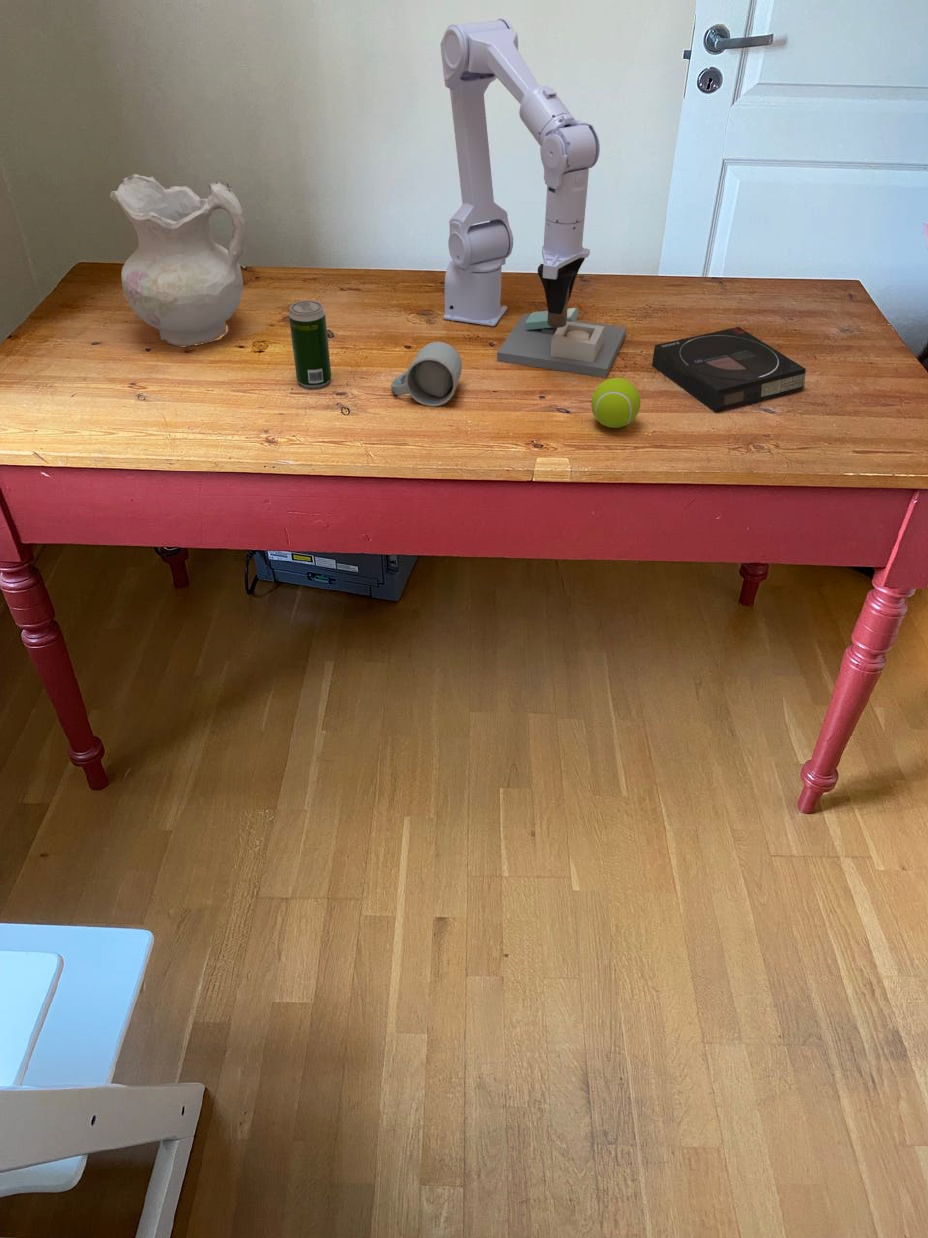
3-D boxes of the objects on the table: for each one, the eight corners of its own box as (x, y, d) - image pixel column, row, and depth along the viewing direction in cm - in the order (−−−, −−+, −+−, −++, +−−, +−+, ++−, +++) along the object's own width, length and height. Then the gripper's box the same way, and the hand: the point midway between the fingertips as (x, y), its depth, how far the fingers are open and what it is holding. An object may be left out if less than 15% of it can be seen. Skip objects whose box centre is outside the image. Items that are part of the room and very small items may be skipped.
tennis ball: (633, 439, 134) (640, 395, 129) (585, 432, 135) (589, 388, 130) (640, 416, 139) (646, 372, 134) (593, 409, 140) (598, 366, 136)
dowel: (545, 326, 146) (548, 281, 141) (549, 318, 148) (552, 274, 143) (564, 328, 145) (567, 283, 141) (568, 320, 147) (571, 276, 143)
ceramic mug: (464, 383, 146) (463, 336, 141) (455, 408, 140) (455, 360, 135) (397, 379, 148) (394, 332, 142) (386, 404, 141) (383, 356, 136)
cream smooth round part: (563, 346, 150) (564, 337, 149) (569, 337, 153) (569, 328, 152) (585, 350, 149) (586, 341, 148) (590, 340, 152) (591, 331, 151)
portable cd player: (715, 416, 140) (720, 391, 137) (651, 368, 151) (654, 344, 149) (802, 394, 145) (808, 370, 142) (733, 349, 157) (738, 326, 154)
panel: (496, 360, 152) (497, 334, 149) (523, 321, 163) (524, 296, 160) (605, 377, 148) (609, 350, 145) (625, 335, 159) (628, 310, 156)
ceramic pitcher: (272, 315, 167) (252, 163, 152) (255, 356, 152) (232, 192, 137) (150, 317, 167) (118, 164, 152) (121, 358, 151) (83, 193, 136)
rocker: (526, 329, 157) (524, 322, 156) (533, 319, 160) (531, 311, 159) (572, 325, 154) (570, 317, 153) (578, 314, 157) (577, 306, 156)
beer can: (336, 385, 145) (329, 310, 138) (303, 392, 144) (294, 317, 136) (325, 370, 149) (317, 297, 141) (292, 377, 147) (283, 303, 139)
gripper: (580, 237, 130) (572, 330, 139) (602, 204, 140) (594, 293, 149) (531, 231, 131) (526, 323, 140) (557, 199, 142) (551, 287, 151)
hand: (558, 308), depth 145 cm, fingers closed on dowel, 3 cm apart
